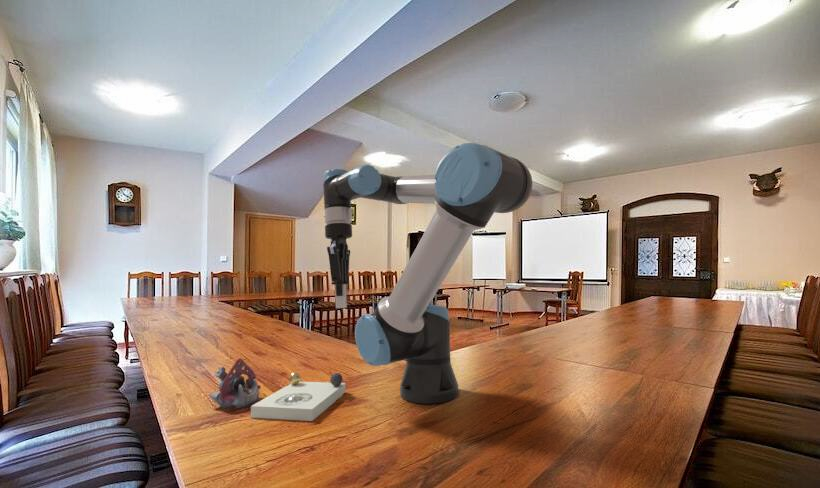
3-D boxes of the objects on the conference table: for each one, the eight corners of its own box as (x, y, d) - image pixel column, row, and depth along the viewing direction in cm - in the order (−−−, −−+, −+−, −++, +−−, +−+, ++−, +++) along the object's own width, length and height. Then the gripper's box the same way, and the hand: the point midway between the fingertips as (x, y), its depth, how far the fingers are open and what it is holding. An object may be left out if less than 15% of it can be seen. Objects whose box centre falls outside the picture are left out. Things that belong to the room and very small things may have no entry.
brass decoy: (303, 382, 98) (303, 370, 98) (297, 386, 95) (297, 373, 95) (292, 382, 99) (292, 370, 99) (286, 385, 95) (286, 373, 96)
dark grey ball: (344, 384, 95) (344, 371, 96) (339, 387, 92) (339, 375, 93) (333, 383, 96) (333, 371, 96) (328, 387, 93) (328, 374, 93)
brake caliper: (242, 403, 83) (219, 359, 87) (213, 428, 86) (191, 385, 89) (275, 388, 94) (253, 350, 97) (249, 411, 96) (228, 373, 100)
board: (294, 390, 99) (294, 381, 99) (345, 392, 96) (345, 383, 96) (250, 417, 81) (250, 406, 81) (312, 421, 78) (312, 409, 78)
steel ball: (303, 401, 86) (299, 393, 85) (299, 413, 84) (295, 406, 82) (291, 401, 87) (286, 393, 85) (286, 413, 84) (281, 406, 82)
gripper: (333, 228, 109) (336, 307, 106) (316, 221, 96) (319, 310, 94) (357, 226, 108) (361, 305, 105) (343, 219, 95) (346, 308, 92)
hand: (341, 307), depth 99 cm, fingers closed
